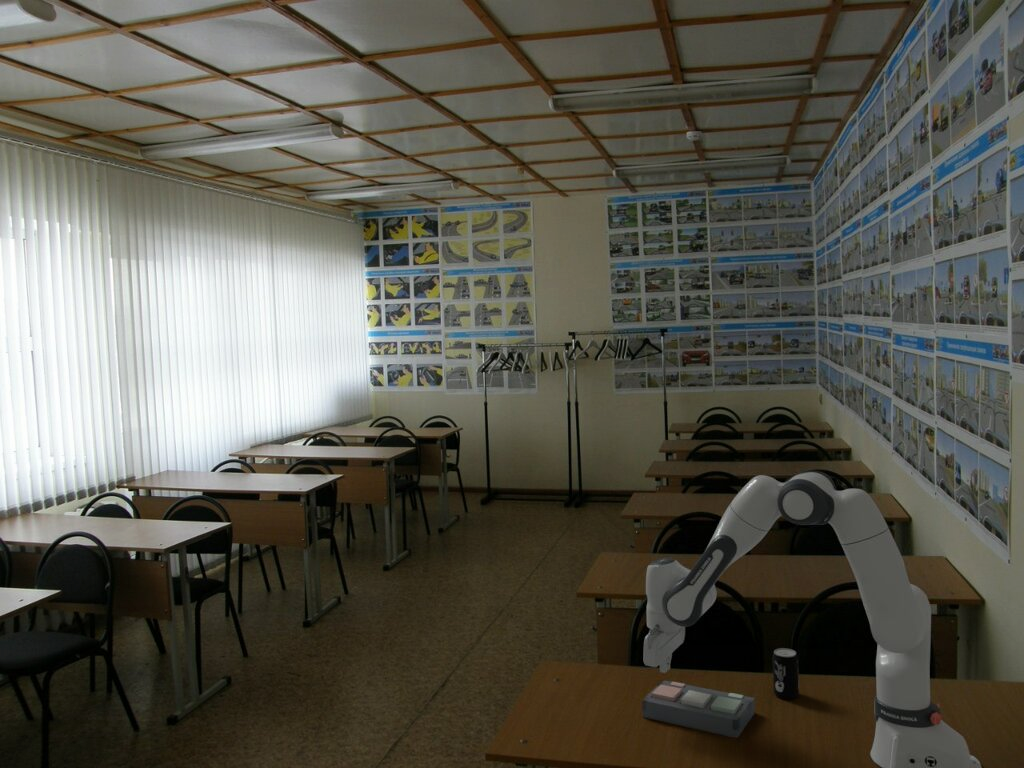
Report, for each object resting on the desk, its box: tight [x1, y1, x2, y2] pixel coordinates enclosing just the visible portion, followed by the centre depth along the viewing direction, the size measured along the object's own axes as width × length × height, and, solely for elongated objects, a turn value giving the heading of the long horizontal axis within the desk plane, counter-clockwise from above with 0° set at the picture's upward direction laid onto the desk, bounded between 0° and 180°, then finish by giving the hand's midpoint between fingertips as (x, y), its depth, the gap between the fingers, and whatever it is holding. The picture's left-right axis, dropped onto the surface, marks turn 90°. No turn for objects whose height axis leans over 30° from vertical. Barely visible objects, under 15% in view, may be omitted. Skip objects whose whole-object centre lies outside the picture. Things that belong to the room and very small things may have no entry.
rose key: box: [652, 685, 682, 702], centre depth 218 cm, size 6×6×2 cm
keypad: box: [641, 680, 756, 739], centre depth 215 cm, size 25×15×4 cm, turn 57°
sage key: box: [711, 696, 742, 715], centre depth 209 cm, size 6×6×2 cm
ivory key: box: [681, 690, 711, 708], centre depth 213 cm, size 6×6×2 cm
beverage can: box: [772, 647, 800, 701], centre depth 223 cm, size 7×7×12 cm
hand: (665, 670), depth 217 cm, fingers closed
